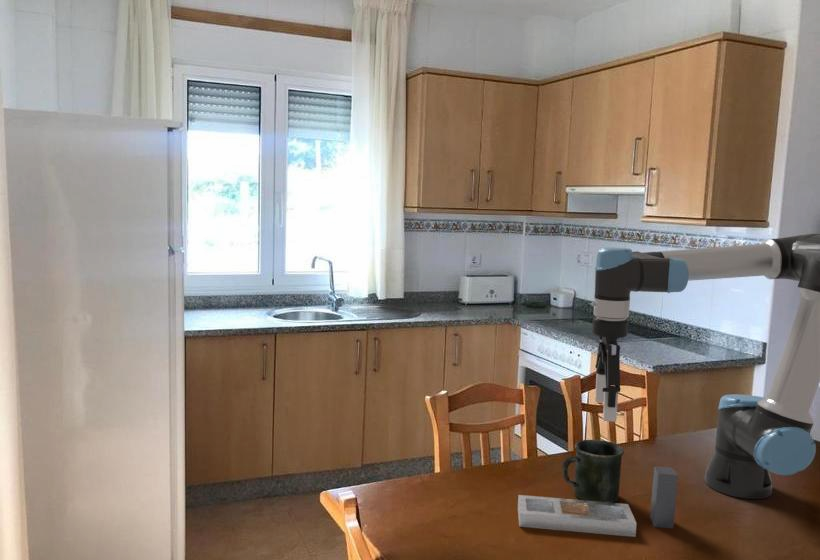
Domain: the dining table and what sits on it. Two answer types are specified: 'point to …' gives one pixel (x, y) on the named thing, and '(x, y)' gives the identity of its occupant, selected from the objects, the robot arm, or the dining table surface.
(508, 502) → the dining table surface
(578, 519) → the white peg holder tray
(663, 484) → the steel peg
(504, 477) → the dining table surface
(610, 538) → the dining table surface
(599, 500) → the mug
